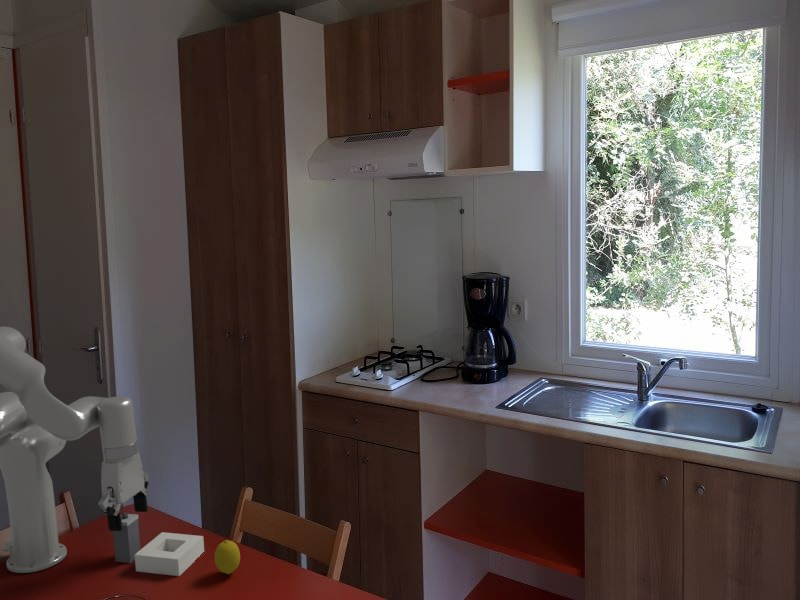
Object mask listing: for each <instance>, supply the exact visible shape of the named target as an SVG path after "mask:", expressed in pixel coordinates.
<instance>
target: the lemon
mask: <svg viewBox="0 0 800 600" xmlns="http://www.w3.org/2000/svg"><path fill="white" fill-rule="evenodd" d="M240 561H241V553H240V548H239V546H238V544H237V543H236V542H234V541H233V540H228V539H225V540H224V541H222V542H221V543H219V544H218V545H217V547H216V548H215V551H214V563H215V566H216V568H217V570H218V571H219V572H221V573H224V574H226V575H230V574H231V573H233V572H234V571H236V570H237V568H238V567H239V565H240Z"/></svg>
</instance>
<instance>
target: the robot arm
mask: <svg viewBox="0 0 800 600" xmlns="http://www.w3.org/2000/svg"><path fill="white" fill-rule="evenodd" d="M26 346H27V343H26V339H25V336H23V334H22V333H21V332H20V331H19V330H17V329H16V328H13V327H10V326H0V385H1V386H3V387H4V388H6V389H7V390H9V391H4V392H0V439H1V438H3V437H5V436H7V435H9V434H11V435H10V436H8V437H7V439H5V440H4V441H3V443H2V444H1V445H0V471H1V474H2V478H3V481H4V487H5V492H6V501H7V508H8V517H9V529H10V537H11V538H10V537H9V538H6V539H5V540H4V544H3V545H2V546H1V549H0V550H1V551H2V552H9V557H8V558H7V560H6V569H7V570H8V571H10V572H12V573H16V574H28V573H35V572H39V571H43V570H46V569H48V568H50V567H54V566H55V565H57V564H58V563H60V562H62V561H63V560H64V559H65V557H67V554H68V551H67V547H66V546H65V545H64V544H62V543H60V542H59V534H58V524H57V514H56V503H55V493H54V486H53V485H54V484H53V480H52V477H51V475H50V473H49V471H48V468H47V466H46V463H47V462H49V461H50V460H51V459H53V458H54V457H55V456H56V455H57V454H59V453H60V452H61V451H62V450H63V449H64V448H65V446H66V443H67V441H70V442H71V441H76V440H78V439H80V438H83V436H85V435H86V434H88V433H89V432H91V431H92V430H94V429H97V428H99V433H100V441H101V449H102V458H103V461H101V469H100V472H101V473H100V483H101V485H100V487H101V498H100V500H98V506H99V508H100V509H101V512H102V513H104V515H105V516H106V517H107V525H108V526H107V528H108V530H109V531H110V532H113V531H121V530H122V520H121V514H122V513H119V512H120V510H121V506H122V504H124V503H126V502H127V501H128V500H130V499H131V498H132V499H133V506H134V511H135V512H138V513H147V512H148V511H149V508H148V500H147V495H148V490H147V489H148V486H149V477H150V472H147V471H144V469H143V462H142V460H141V456H140V452H139V446H138V439H137V431H136V430H137V429H136V422H135V413H134V412H135V411H134V404H133V401H132V399H131V398H130V397H128V396H124V395H122V396H119V395H118V396H112V397H102V396H91V395H89V396H83V397H81V398H79V399H77V400H75V401H73V402H72V403H70V404H66V403H64V402H63V401H61V400H60V399H58V398H57V397H56V396H54V395H53V394H52V393H51V392H50V391H49V389H48V388H47V386H46V384H45V375H46V366H45V365H44V364H43V363H42V362H40V361H39V360H37V359H35V358H34V357H32V356H31V355H30V354H28V353H27V352H25V351H26V348H27V347H26ZM113 505H115V506H114V508H113Z"/></svg>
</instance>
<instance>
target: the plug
mask: <svg viewBox="0 0 800 600" xmlns="http://www.w3.org/2000/svg"><path fill="white" fill-rule="evenodd" d="M120 514H121V520H122V530H121V531H112V533H113V534H112V535H113V545H114V546H113V547H114V559H115V560H114V561H115V562H116V563H117V562H118V563H125V564H126V563H128V564H131V563H133V562H135V554H136V553H137V552H138V551H140V550H141V541H140V538H141V537H140V528H139V514H134V513H128V512H123V513H120Z"/></svg>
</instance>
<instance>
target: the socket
mask: <svg viewBox="0 0 800 600" xmlns="http://www.w3.org/2000/svg"><path fill="white" fill-rule="evenodd" d="M204 544H205V542H204V536H203V535H193V534H187V533H186V534H183V533H173V532H165V531H164V532H163V531H162V532H160V533H159V534H158V535H157V536H155V537H154V539H153V538H152V540H151V541H149V542H148V543H147V544H146V545H144V546H143V547H142V548H140V551H138V552H137V553H136V554H135V560H134V564H135V572H138V573H139V572H140V573H149V574H156V575H167V576H175V577H180V576H181V575H182V574H183V573H184V572H185V571H186V570H188V568H189V567H191V566H192V564H194V563H195V562H196V561H195V560H196V559H197V558H198V557H199V558H200V557H201V556H202V555H203V554H204V553H205V545H204ZM203 552H204V553H203ZM202 553H203V554H202ZM201 554H202V555H201ZM200 555H201V556H200ZM199 558H198V559H199ZM198 559H197V560H198Z"/></svg>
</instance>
